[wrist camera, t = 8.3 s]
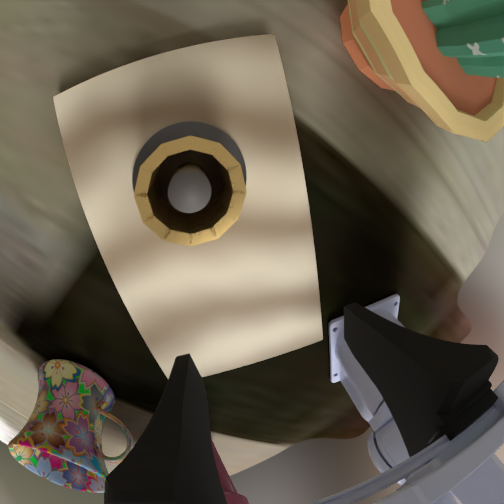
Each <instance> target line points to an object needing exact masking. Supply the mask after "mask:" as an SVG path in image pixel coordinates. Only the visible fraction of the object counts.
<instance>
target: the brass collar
mask: <svg viewBox="0 0 504 504" xmlns="http://www.w3.org/2000/svg"><path fill="white" fill-rule="evenodd" d="M190 149H191V150H195V151H199V152H203V153H207V154H210V155H212V156H213V157H214V158H215V159H216V160H217V161H218V162H219V164H220V168H221V173H222V177H223V180H222V184H221V187H220V190H219V194H218V195H217V196H216V197H215V198H214V199H213V200H212V201H211V202H210V203H209V204H208V205H207V206H206V207H204V208H203V209H201V210H199V211H197V212H194V213H184V212H181V211H179V210H177V209H176V208H173V207H172V206H171V205H170V204H169V203H168V202H167V201H165V200H164V199H163V198H162V197H161V194H160V191H159V188H158V184H157V181H156V179H157V175H158V171H159V167H160V164H161V163H162V162H163V161H164V160H165V159H166V157H167V156H170V155H173V154H176V153H180V152H183V151H187V150H190ZM246 193H247V191H246V186H245V182H244V177H243V173H242V169H241V164H240V163H239V162H238V161H237V160H236V159H235V158H234V157H233V156H232V155H231V154H230V153H229V152H228V151H227V150H226V149H225V148H224V147H223V146H222V145H221V144H220V143H218V142H214V141H211V140H207V139H203V138H199V137H195V136H191V135H189V136H186V137H182V138H179V139H175V140H172V141H169V142H166V143H163V144H161V145H160V146H159V147H158V148H157V149H156V150H155V151H154V152H153V153H152V154H151V155H150V156H149V157H148V158H147V160H146V161H145V162H144V163H143V164H142V165H141V166H140V169H139V173H138V178H137V182H136V187H135V192H134V198H135V201H136V204H137V207H138V210H139V213H140V216H141V219H142V222H143V223H144V224H145V225H146V226H147V227H149V228H150V229H151V230H152V231H153V232H154V233H155V234H157V235H158V236H159V237H160V238H161V239H162V240H163V241H167V242H172V243H177V244H182V245H186V246H195V245H198V244H201V243H205V242H208V241H212V240H215V239H218V238H219V237H220V236H221V235H222V234H223V233H224V232H225V231H226V230H228V229H229V228H230V227H231V226H232V225H233V224H234V223H235V222H236V221H237V220H238V219H239V215H240V212H241V209H242V206H243V203H244V199H245V196H246Z"/></svg>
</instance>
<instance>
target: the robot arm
mask: <svg viewBox="0 0 504 504" xmlns="http://www.w3.org/2000/svg"><path fill="white" fill-rule="evenodd" d="M399 300H400V296H399V295H398V294H394V295H392V296H390V297H387V298H385V299H383V300H380V301H378V302H376V303H373V304H371V305H369V306H366V307H363V306H361V305H359V304H357V303H356V302H355V303H352V304H349V305H347V306H344V316H341V317H339V318H336V319H334V320H332V321H330V323H329V325H328V326H329V347H330V380H331V382H332V383H335V382H338V381H341V382H342V384H343V386H344V387H345V389H346V391H347V392H348V394H349V396H350V397H351V399H352V401H353V402H354V404H355V406H356V407H357V409H358V411H359V412H360V414H361V415H362V417H363V418H364V419H365V420H367V421H368V422H369V424H370V426H371V427H372V429H373V430H372V432H370V434H369V436H368V451H369V454H370V457H371V459H372V461H373V463H374V464H375V466H376V467H377V468H378V470H379V471H380V472H381V474H379V475H377V476H375V477H373V478H371V479H369V480H367V481H365V482H362V483H361V484H358V485H356V486H353V487H351V488H349V489H346V490H344V491H341V492H339V493H337V494H334V495H331V496H329V497H326V498H323V499H320V500H317V501H315V502H311V503H308V504H354V503H356V502H358V501H361V500H363V499H365V498H367V497H369V496H372V495H374V494H376V493H377V492H380V491H382V490H384V489H385V488H387V487H389V486H391V485H393V484H395V483H398V484H400V485H401V486H400V487H399V488H398V489H397V491H396V492H394V493H392V494H390V495H388V496H386V497H384V498H382V499H380V500H378V501H375V502H373V503H371V504H457V502H456V500H455V499H454V497H453V496H452V494H453V495H454V496H455V498H456V499H457V500H458V501H459V502H460V503H461V504H504V464H503V463H502V462H501V461H500V459H499V458H498V457H497V456H496V455H495V454H494V453H495V452H496V451H497V449H499V448H500V447H501V446H502V445H503V443H504V381H503V382H501V383H500V384H499V385H498V386H497V388H496V389H495V390H494V391H492V390H491V389H490V388H491V386H492V384H491V383H490V382H489V378H490V376H491V374H492V373H493V371H494V369H495V367H496V365H497V363H498V356H497V354H496V353H494V352H493V351H492V350H491V349H490V348H489V347H488V346H487V345H470V344H461V343H454V342H449V341H444V340H440V339H436V338H432V337H429V336H426V335H423V334H420V333H417V332H414V331H412V330H409V329H407V328H405V327H404V326H403V325H402V324H401V323H400V322H399V321H398V320H397V316H398V309H399ZM334 328H335V329H334ZM451 493H452V494H451ZM104 504H227V501H226V498H225V495H224V492H223V489H222V485H221V482H220V478H219V474H218V470H217V467H216V462H215V458H214V454H213V449H212V442H211V433H210V421H209V409H208V399H207V394H206V389H205V385H204V381H203V379H202V377H201V375H200V373H199V371H198V369H197V367H196V365H195V363H194V361H193V359H192V357H191V355H190V353H189V354H185V355H180V356H177V357H176V358H175V361H174V364H173V367H172V370H171V373H170V376H169V379H168V382H167V384H166V387H165V390H164V392H163V395H162V397H161V399H160V402H159V404H158V406H157V408H156V410H155V412H154V414H153V416H152V418H151V420H150V422H149V424H148V426H147V427H146V429H145V431H144V432H143V434H142V435H141V437H140V438H139V440H138V441H137V443H136V444H135V446H134V447H133V448H132V449H131V451H130V452H129V453H128V454H127V456H126V457H125V458H124V459H123V460H122V462H121V463H120V464H119V465H118V466H117V467H116V468H115V469H114V470H113V471H112V472H111V473H110V474H109V475H108V476H106V479H105V489H104Z"/></svg>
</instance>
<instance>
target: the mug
mask: <svg viewBox="0 0 504 504" xmlns="http://www.w3.org/2000/svg"><path fill="white" fill-rule="evenodd" d="M38 381H39V392H38V398H37V402H36V405H35V408H34V410H33V413H32V415H31V417H30V418H29V420H28V422H27V423H26V425H25V426H24V428H23V429H22V430H21V431H20V432H19V434H18V435H17V436H16V437H15V438H14V439H13V440H11V441H10V442H9V444H8V448H9V451H10V453H11V454H12V456H13V457H14V458H15V459H16V460H17V461H18V462H19V463H21V464H22V465H23V466H25V467H26V468H27V469H29V470H30V471H32V472H34V473H35V474H37V475H39V476H41V477H43V478H45V479H47V480H49V481H51V482H54V483H56V484H59V485H62V486H65V487H68V488H71V489H75V490H79V491H85V492H94V493H99V492H100V493H101V492H104V489H105V479H106V476H108V475H109V474H108V471H107V468H106V465H105V462H104V460H105V461H107V462H110V463H121V462H122V460H123V459H124V458H125V457H126V456H127V454H128V453H129V452H130V451H131V449H132V448H133V447H134V441H133V438H132V435H131V433H130V432H129V430H128V429H127V427H126V426H125V425H124V424H123V423H122V422H121V421H120V420H119V419H118V418H117V417H116V416H114V415H113V414H111V413H109V412H110V411H111V409H112V408H113V406H114V404H115V397H114V393H113V391H112V389H111V387H110V386H109V385H108V383H107V382H106V381H105V380H104V379H103V378H102V377H101V376H99V375H98V374H97V373H95V372H94V371H92V370H91V369H89V368H87V367H85V366H83V365H81V364H78V363H76V362H72V361H68V360H62V359H54V360H49V361H47V362H45V363H43V364H42V365H41V366H40V368H39V370H38ZM106 417H108V418H110V419H112V420H113V421H115V422H116V423H117V424H118V425H119V426H120V427H121V428H122V430H123V431H124V433H125V435H126V438H127V448H126V450H125V451H124V452H123V453H122V454H121V455H119V456H117V457H108V456H105V455H104V454H103V453H102V444H101V435H102V428H103V424H104V421H105V418H106Z"/></svg>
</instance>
